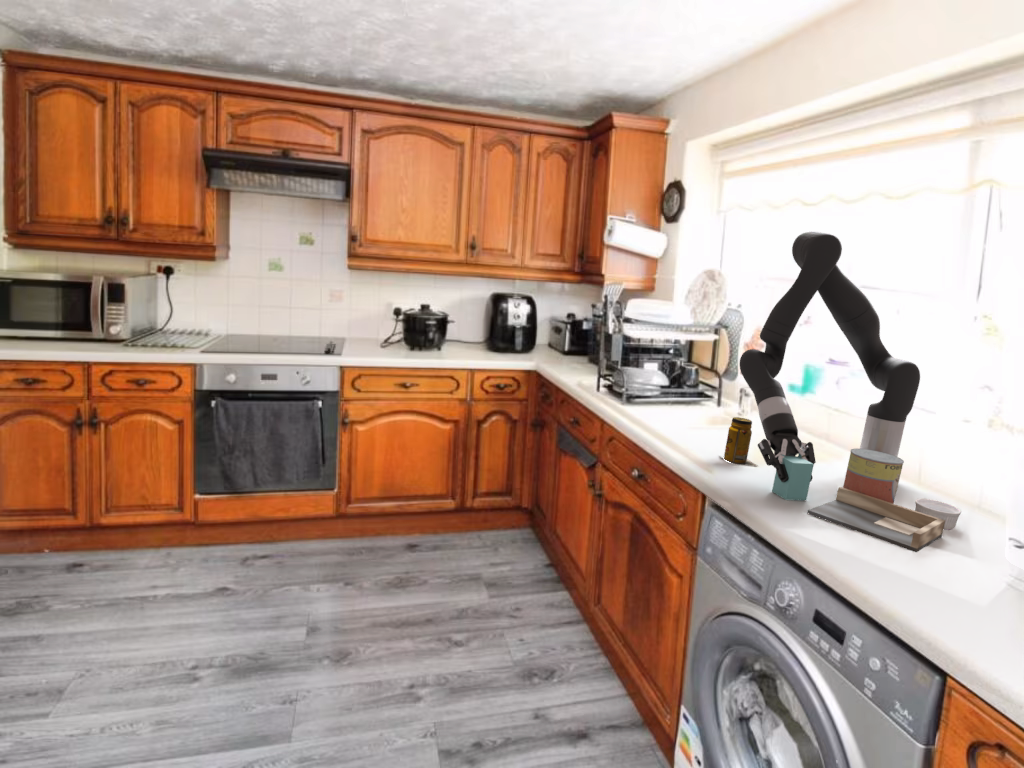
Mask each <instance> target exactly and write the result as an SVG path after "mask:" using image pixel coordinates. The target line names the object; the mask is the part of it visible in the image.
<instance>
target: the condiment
mask: <svg viewBox="0 0 1024 768" xmlns="http://www.w3.org/2000/svg"><path fill="white" fill-rule="evenodd" d="M752 425H753V421H752V420H751V419H749V418H746V417H745V418H744V417H739V416H736V417H735V416H734V417H732V419H731V424H730V426H729V427H728V431H727V439H726V442H725V443H726V445H725V448H724V454H723V455H724V456H723V457H724V459H725V460H727V461H729V462H731V463H733V464H732V465H736V466H737V465H738V466H740V465H741V466H754V467H755V466H756V467H759V465H757V464H756V463H754V462H753V461H751V460H749V458H748V456H749V449H750V444H751V440H752V434H753V433H752V432H753V431H752Z"/></svg>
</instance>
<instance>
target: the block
mask: <svg viewBox="0 0 1024 768" xmlns="http://www.w3.org/2000/svg"><path fill="white" fill-rule="evenodd" d="M783 460H784V463H783V465H785V467H786V470H787V473H788V477H789V479H788V480H787V481H786V482H781V480H780V479H779V477H778V474H777V471H776V470H775V473H774V474H775V475H774V480H773V484H772V485H773V486H772V488H771V489H772V490H771V491H772V493H774V494H776V495H777V496H779V497H780V498H782V499H784V500H787V501H803V500H806V501H807V499H808V494H809V488H810V484H811V482H810V480H811V475H812V476H813V474H812V473H813V471H814V466H815V464H813V463H811V462H809V461H807V460H805V459H802V458H799V457H797V456H796V457H795V456H785V457H784V458H783Z"/></svg>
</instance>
